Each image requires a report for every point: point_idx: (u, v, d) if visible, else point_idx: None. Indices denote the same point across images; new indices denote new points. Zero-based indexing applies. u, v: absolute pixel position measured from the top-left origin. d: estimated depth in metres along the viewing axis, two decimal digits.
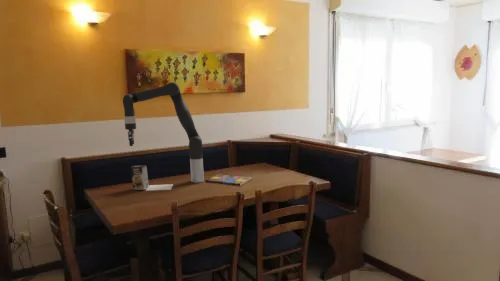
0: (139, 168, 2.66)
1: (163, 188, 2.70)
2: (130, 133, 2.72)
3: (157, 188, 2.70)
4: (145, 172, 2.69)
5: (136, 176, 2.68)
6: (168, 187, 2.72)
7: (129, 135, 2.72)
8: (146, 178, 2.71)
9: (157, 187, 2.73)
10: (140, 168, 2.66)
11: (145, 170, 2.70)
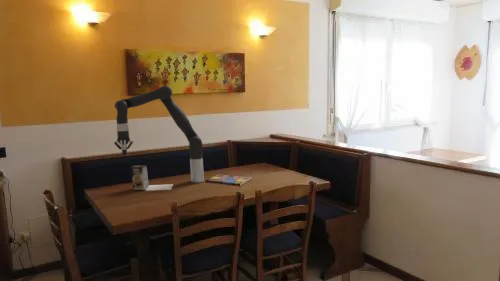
0: (139, 168, 2.66)
1: (163, 188, 2.70)
2: None
3: (157, 188, 2.70)
4: (145, 172, 2.69)
5: (136, 176, 2.68)
6: (168, 187, 2.72)
7: None
8: (146, 178, 2.70)
9: (157, 187, 2.73)
10: (140, 168, 2.66)
11: (145, 170, 2.70)
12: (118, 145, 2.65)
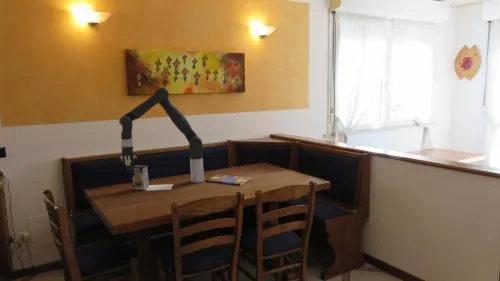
0: (140, 168, 2.66)
1: (163, 188, 2.70)
2: (136, 158, 2.69)
3: (157, 188, 2.70)
4: (145, 172, 2.69)
5: (136, 176, 2.68)
6: (168, 187, 2.72)
7: None
8: (146, 178, 2.71)
9: (157, 187, 2.73)
10: (141, 168, 2.66)
11: (146, 170, 2.70)
12: (122, 160, 2.67)
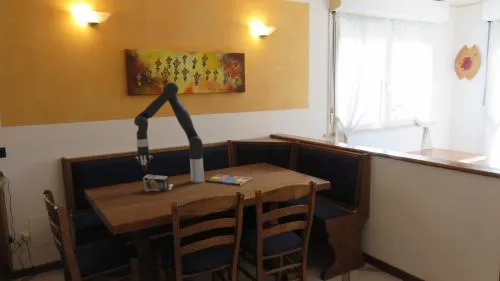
0: (163, 189, 2.63)
1: None
2: None
3: None
4: None
5: (155, 184, 2.63)
6: None
7: (150, 160, 2.69)
8: None
9: None
10: (163, 190, 2.63)
11: None
12: (138, 160, 2.68)
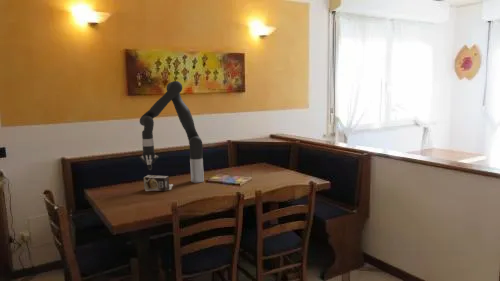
0: (163, 188, 2.63)
1: None
2: None
3: None
4: None
5: (155, 183, 2.64)
6: None
7: (156, 159, 2.69)
8: None
9: None
10: (163, 189, 2.63)
11: None
12: (143, 160, 2.68)
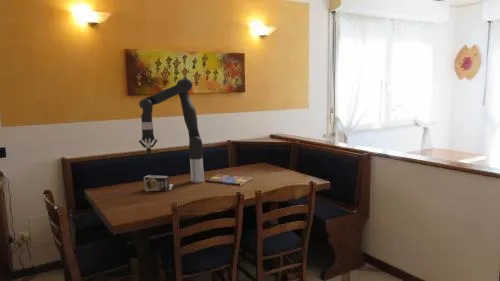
0: (163, 188, 2.63)
1: None
2: (156, 141, 2.68)
3: None
4: None
5: (155, 183, 2.64)
6: None
7: (155, 143, 2.68)
8: None
9: None
10: (163, 189, 2.63)
11: None
12: (143, 143, 2.66)
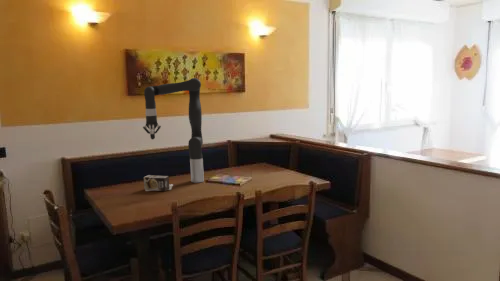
0: (163, 188, 2.63)
1: None
2: (160, 127, 2.79)
3: None
4: None
5: (155, 183, 2.64)
6: None
7: (158, 129, 2.78)
8: None
9: None
10: (163, 189, 2.63)
11: None
12: (147, 129, 2.77)
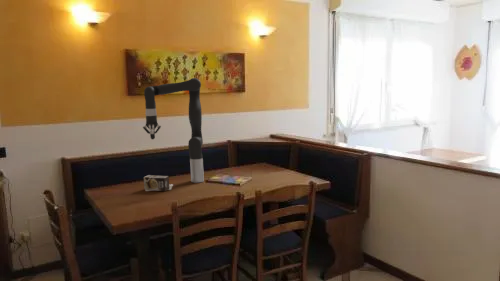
0: (163, 188, 2.63)
1: None
2: (160, 127, 2.79)
3: None
4: None
5: (155, 183, 2.64)
6: None
7: (158, 129, 2.78)
8: None
9: None
10: (163, 189, 2.63)
11: None
12: (147, 129, 2.77)
